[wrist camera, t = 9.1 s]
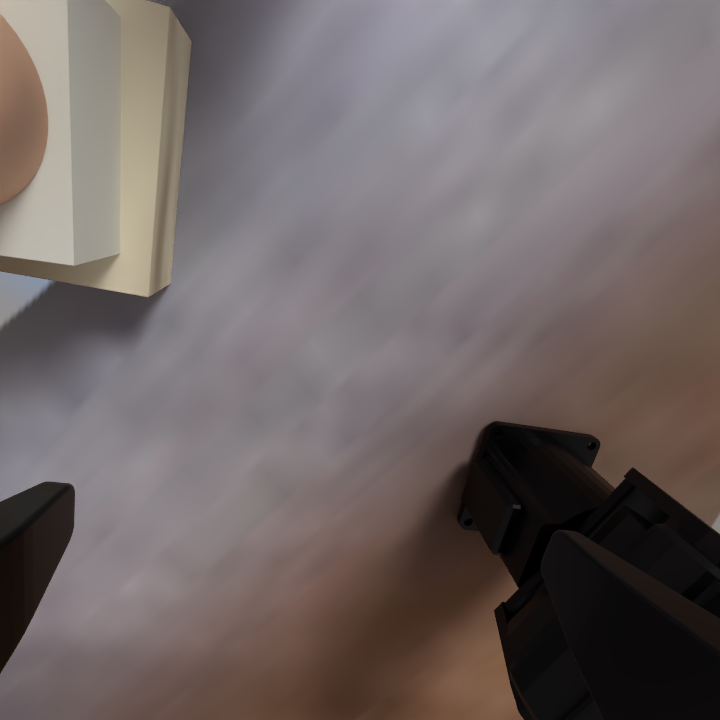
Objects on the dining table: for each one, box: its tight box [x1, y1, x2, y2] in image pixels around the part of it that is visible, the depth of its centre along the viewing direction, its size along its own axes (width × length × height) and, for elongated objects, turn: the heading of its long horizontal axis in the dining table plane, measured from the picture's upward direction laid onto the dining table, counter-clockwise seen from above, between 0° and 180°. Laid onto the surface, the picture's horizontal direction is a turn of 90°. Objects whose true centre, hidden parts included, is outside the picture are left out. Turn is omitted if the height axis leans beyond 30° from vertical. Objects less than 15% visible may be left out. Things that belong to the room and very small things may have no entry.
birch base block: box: [0, 0, 192, 297], centre depth 16 cm, size 9×9×4 cm
